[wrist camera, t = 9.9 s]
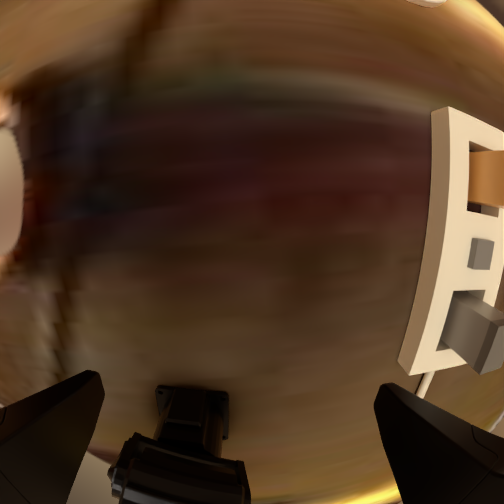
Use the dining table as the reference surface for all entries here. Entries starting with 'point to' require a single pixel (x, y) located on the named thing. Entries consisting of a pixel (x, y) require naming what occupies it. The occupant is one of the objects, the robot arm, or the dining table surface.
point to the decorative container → (428, 2)
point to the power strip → (452, 243)
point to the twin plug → (475, 332)
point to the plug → (486, 178)
